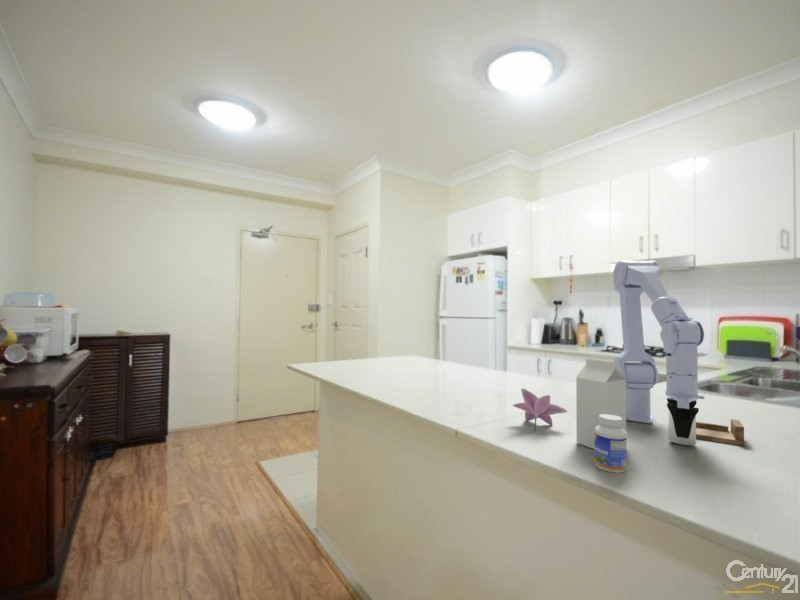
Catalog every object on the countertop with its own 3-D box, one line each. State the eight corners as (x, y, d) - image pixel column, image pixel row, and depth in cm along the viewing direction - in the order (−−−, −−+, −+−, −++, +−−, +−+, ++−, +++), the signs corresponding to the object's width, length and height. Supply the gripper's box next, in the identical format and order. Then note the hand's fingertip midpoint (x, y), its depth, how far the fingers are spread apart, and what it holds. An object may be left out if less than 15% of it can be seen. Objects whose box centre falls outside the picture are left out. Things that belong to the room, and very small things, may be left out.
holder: (683, 436, 92) (683, 419, 92) (682, 428, 99) (682, 412, 99) (744, 446, 86) (744, 428, 86) (738, 436, 93) (738, 419, 93)
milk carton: (605, 454, 81) (605, 363, 81) (576, 443, 87) (576, 359, 87) (626, 448, 84) (626, 361, 84) (596, 438, 90) (596, 357, 91)
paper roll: (668, 442, 86) (668, 414, 86) (668, 436, 90) (668, 410, 90) (696, 446, 83) (696, 418, 84) (695, 440, 88) (695, 413, 88)
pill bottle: (588, 462, 76) (588, 413, 76) (614, 461, 77) (614, 412, 77) (605, 474, 71) (605, 421, 71) (633, 473, 71) (633, 420, 71)
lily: (573, 437, 94) (571, 399, 99) (542, 424, 89) (542, 384, 94) (532, 439, 103) (532, 404, 108) (502, 428, 98) (503, 391, 103)
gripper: (707, 380, 79) (707, 447, 79) (701, 371, 91) (701, 428, 91) (665, 376, 83) (665, 440, 83) (665, 368, 95) (665, 423, 95)
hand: (682, 433), depth 87 cm, fingers closed on paper roll, 5 cm apart
